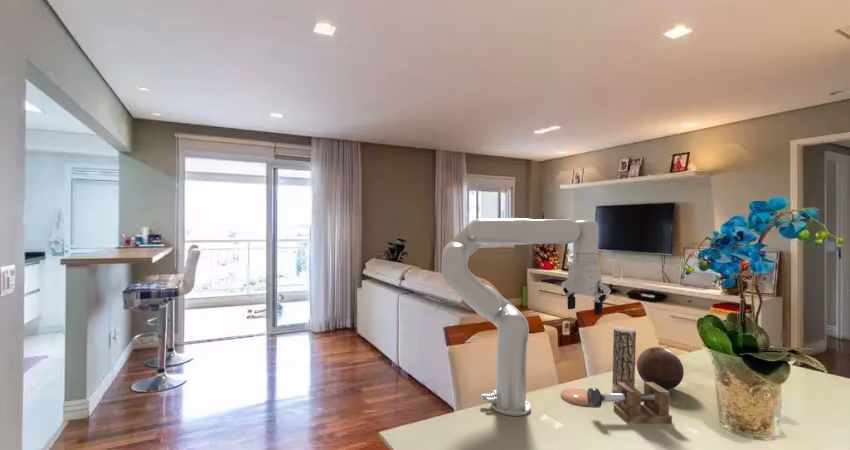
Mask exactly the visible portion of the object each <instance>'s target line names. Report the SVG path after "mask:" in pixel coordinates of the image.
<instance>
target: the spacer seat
mask: <svg viewBox="0 0 850 450" xmlns="http://www.w3.org/2000/svg"><path fill="white" fill-rule="evenodd" d="M587 392H588V389H584V388H583V389H582V388H576V387H575V388H574V387H571V388H570V387H568V388H564V389H562V390H561V391H560V397H561V399H563V400H564V401H566V402H567V403H570V404H573V405H576V406H586V407H587V406H588V407H589V406H590V405H589V402H588V398H587ZM590 407H591V406H590Z"/></svg>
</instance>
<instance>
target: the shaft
mask: <svg viewBox="0 0 850 450" xmlns="http://www.w3.org/2000/svg"><path fill="white" fill-rule="evenodd" d="M587 391H588V392H587V398H588V402H589V405H590V408H592V409H598V408H599V409H600V408H601V407H602V404H603V403H616V402H627V394H612V393H601V391H600V390H599V388H596V387H590V388H588V389H587ZM644 402H655V394H644V393H641V403H644Z"/></svg>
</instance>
